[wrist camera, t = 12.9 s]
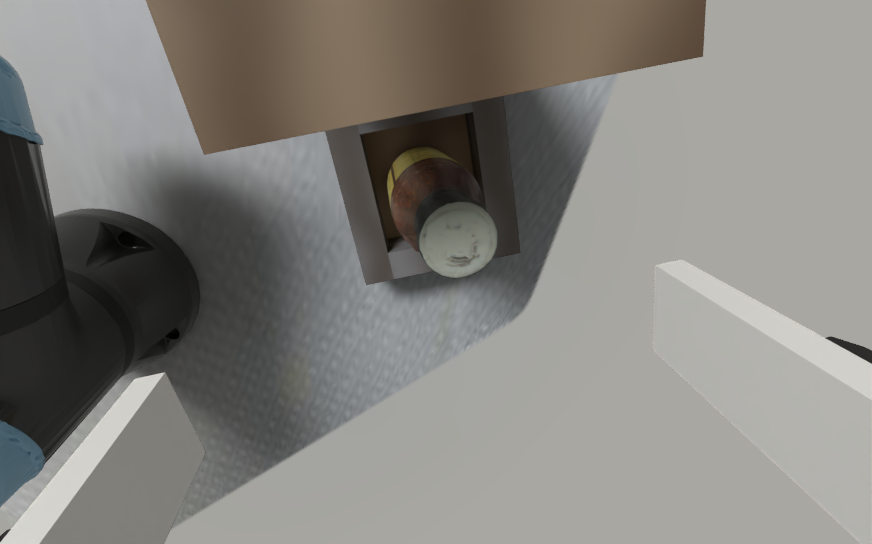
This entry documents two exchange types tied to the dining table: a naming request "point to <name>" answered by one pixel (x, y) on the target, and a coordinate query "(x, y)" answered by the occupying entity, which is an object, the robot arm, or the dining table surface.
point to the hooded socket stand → (402, 84)
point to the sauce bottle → (441, 212)
